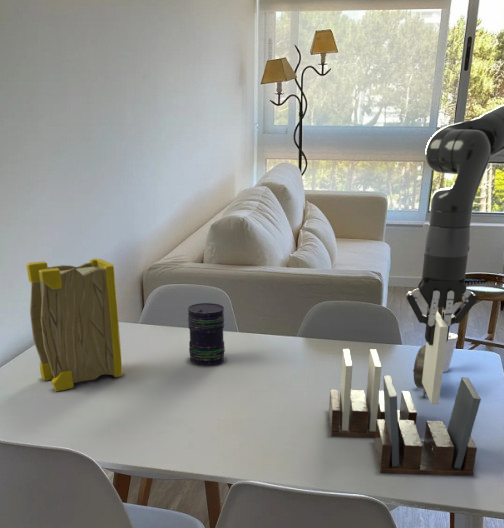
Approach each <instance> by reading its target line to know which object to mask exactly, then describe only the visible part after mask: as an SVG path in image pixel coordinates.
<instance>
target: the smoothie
mask: <svg viewBox="0 0 504 528" xmlns="http://www.w3.org/2000/svg"><path fill="white" fill-rule="evenodd" d="M458 338H459V336H458V334H456V333H453V332H450V331H449V336H448V341H447V342H446V349H445V357H444V365H443V373H447V372H449V370H450V366H451V363H452V358H453V354H454V351H455V346H456V343H457V341H458V340H459V339H458Z"/></svg>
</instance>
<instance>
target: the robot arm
mask: <svg viewBox="0 0 504 528" xmlns="http://www.w3.org/2000/svg"><path fill="white" fill-rule="evenodd" d="M503 151H504V104H503V105H499V106H498V107H496V108H494V109H492V110H490V111H488V112H485V113H484V114H482V115H480V116H479V117H477V118H473V119H469V120H464V121H461V122H460V121H459V122H457V123H453V124H450V125H447V126H445V127H442V128H440V129H438V130H437V131H436V132H435V133H434V134H433V135H432V137H430V139H429V140H428V142H427V145H426V148H425V160H426V163H427V165H428V166H429V167H430V168H431V169H432V170H433V171H435V172H437V173H440V174H450V175H456V178H455V180H454V182H453V184H452V185H451V187H445V188H440V189H437V190H436V191H434V193H433V194H432V196H431V202H430V211H429V222H428V228H427V233H426V236H425V246H424V255H423V265H422V274H421V280H420V282H419V283H418V285H417V288H415V289H413V290H411V291H406V292H405V294H404V296H405V298H406V300H407V302H408V304H409V305H410V307H411V309H412V311H413V313H414V315H415V317H416V319H417V320H418V322H419V323H420V324H425V331H424V339H425V342H428V344H429V345H433V341H434V332H435V326H434V324H435V317H436V314H437V311H438V309H439V308H441V317H442V318H443V320H444V322H445V323H446V325H447V326H448V332H447V341H448V336H449V332H450V329H451V326H452V325H454V324H460V323H461V322H462V320H463V319H464V318H465V317H466V315H468V313H469V312H470V310H471V309H472V308H473V306H475V304H476V302H477V301H478V299H479V297H478V296H477V294H476V293H475V292H473V291H470V290H469V289H467V285H466V281H465V280H466V272H467V264H468V257H469V251H470V241H471V222H472V215H473V214H472V213H473V207H474V202H475V198H476V196H477V193H478V190H479V188H480V185H481V183H482V179H483V177H484V175H485V172H486V171H487V168H488V165H489V163H490V159H491V158H492V157H495V156H496V155H498V154H501V153H502V152H503ZM420 295H421V296H422V298H423V299H424V301H425V302H426V304H427V305H426V314H424V313H423V312H422V310H421V308H420V306H419V304H418V302H420ZM460 298H461V300H462V302H461V303H460V305H458V307H457V308H456V310H453V308H454V305H455V304H456V303H457V302H459V300H460ZM453 311H454V312H453ZM447 341H446V342H447Z"/></svg>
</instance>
